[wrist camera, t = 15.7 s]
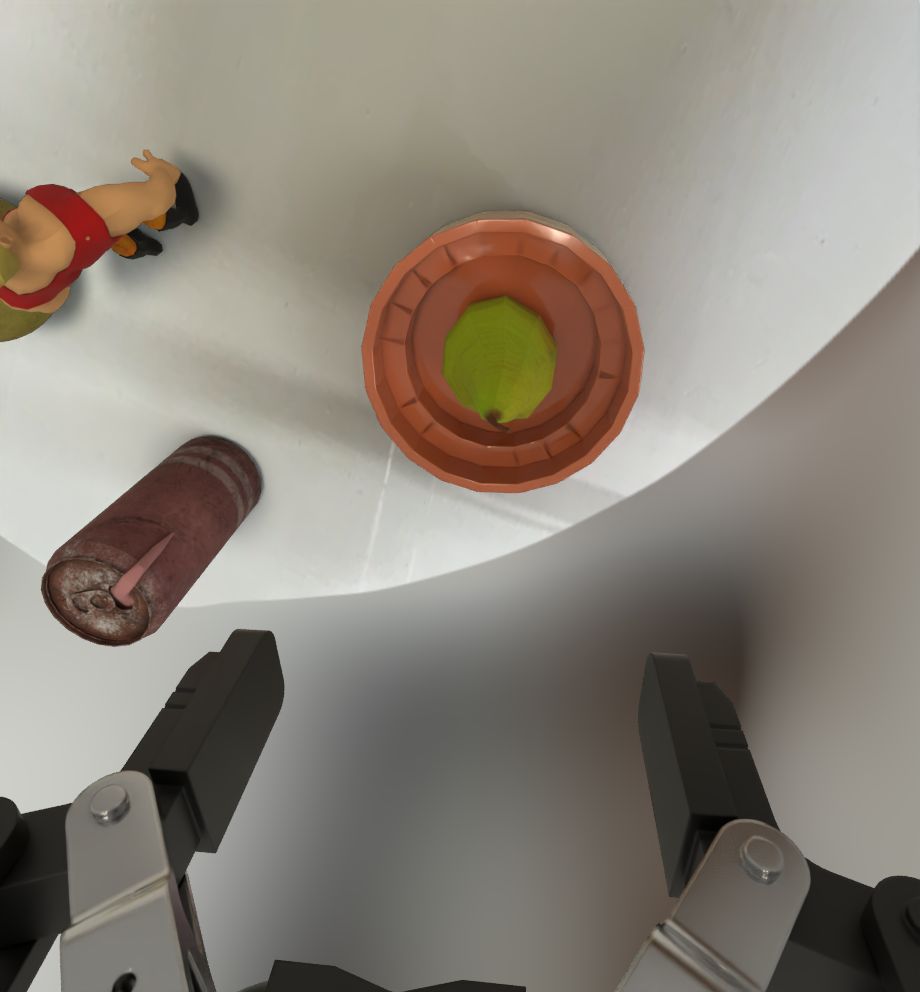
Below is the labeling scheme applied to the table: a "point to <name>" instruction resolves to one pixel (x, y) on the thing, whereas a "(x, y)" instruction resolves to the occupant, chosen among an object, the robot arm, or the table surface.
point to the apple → (15, 323)
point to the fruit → (499, 360)
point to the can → (151, 544)
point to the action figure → (85, 231)
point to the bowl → (568, 317)
